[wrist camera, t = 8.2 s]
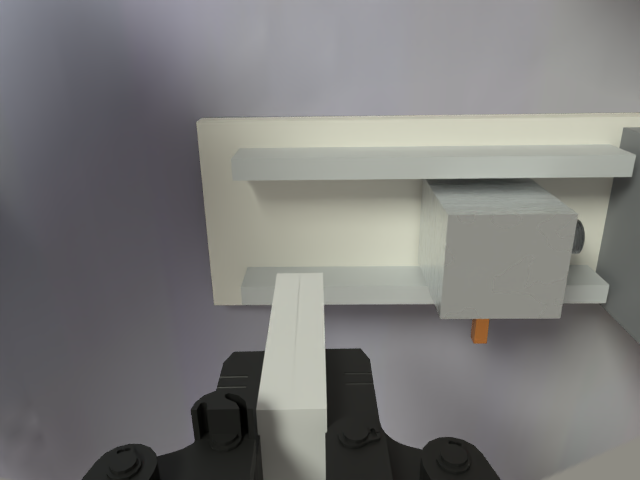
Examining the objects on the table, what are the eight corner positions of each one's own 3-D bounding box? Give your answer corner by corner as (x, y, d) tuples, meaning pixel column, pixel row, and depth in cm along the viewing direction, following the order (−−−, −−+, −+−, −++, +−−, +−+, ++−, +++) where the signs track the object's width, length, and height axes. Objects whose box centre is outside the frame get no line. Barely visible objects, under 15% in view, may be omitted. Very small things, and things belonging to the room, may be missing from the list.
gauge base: (218, 295, 31) (181, 383, 23) (201, 117, 27) (151, 153, 19) (642, 292, 30) (748, 382, 22) (684, 112, 26) (828, 145, 19)
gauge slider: (415, 305, 29) (436, 371, 23) (422, 175, 26) (448, 215, 21) (541, 304, 29) (592, 370, 23) (562, 174, 26) (625, 213, 21)
